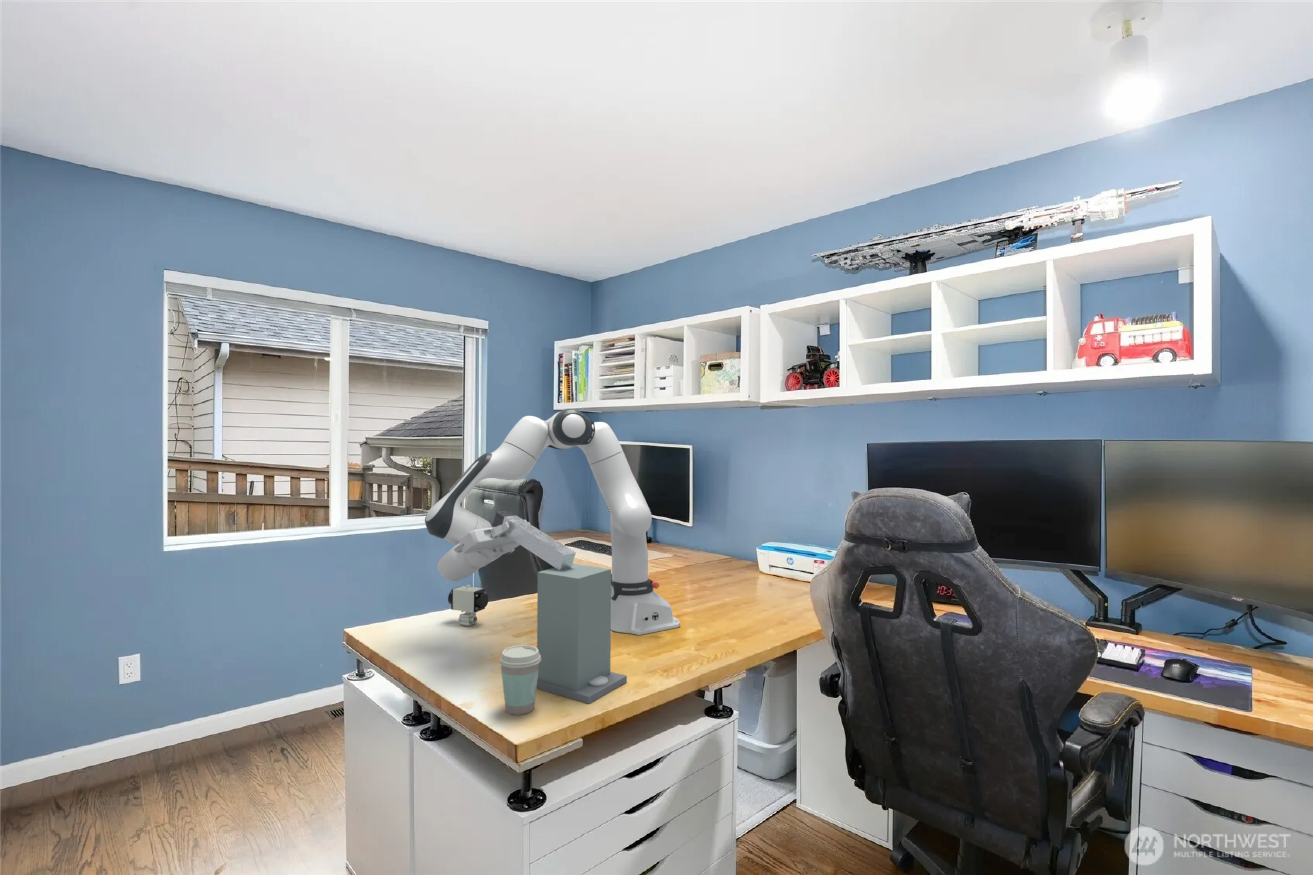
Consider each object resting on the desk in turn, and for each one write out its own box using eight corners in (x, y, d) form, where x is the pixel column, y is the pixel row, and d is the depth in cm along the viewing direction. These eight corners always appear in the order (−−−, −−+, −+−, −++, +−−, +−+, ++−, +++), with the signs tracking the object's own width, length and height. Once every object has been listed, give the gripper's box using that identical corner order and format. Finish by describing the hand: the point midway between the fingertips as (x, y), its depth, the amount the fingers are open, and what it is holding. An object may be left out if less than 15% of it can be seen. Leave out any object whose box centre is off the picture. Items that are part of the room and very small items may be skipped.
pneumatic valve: (479, 628, 180) (479, 588, 180) (447, 624, 184) (447, 585, 184) (490, 623, 185) (490, 584, 185) (459, 619, 189) (459, 581, 189)
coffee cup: (538, 717, 122) (538, 658, 122) (495, 718, 121) (495, 658, 122) (542, 699, 131) (543, 644, 131) (502, 700, 130) (503, 644, 130)
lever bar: (492, 526, 152) (496, 511, 151) (504, 524, 155) (508, 510, 154) (559, 570, 140) (564, 555, 139) (571, 567, 143) (575, 552, 142)
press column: (533, 687, 137) (534, 572, 137) (573, 668, 149) (574, 562, 149) (588, 703, 128) (589, 581, 129) (626, 682, 140) (627, 570, 141)
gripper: (446, 540, 148) (480, 516, 142) (507, 530, 166) (540, 508, 159) (454, 564, 147) (489, 540, 140) (515, 552, 164) (549, 530, 158)
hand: (517, 523), depth 150 cm, fingers closed on lever bar, 4 cm apart
